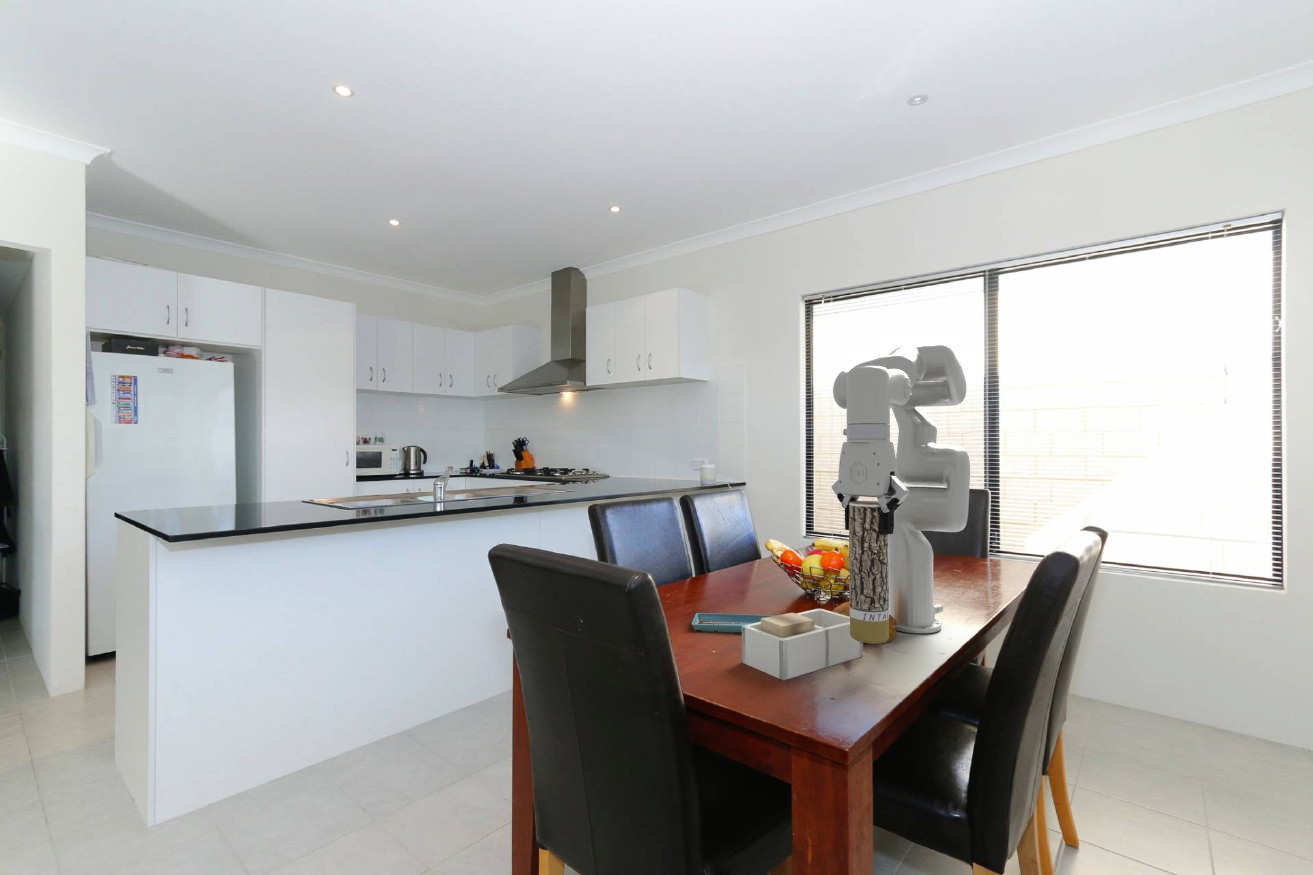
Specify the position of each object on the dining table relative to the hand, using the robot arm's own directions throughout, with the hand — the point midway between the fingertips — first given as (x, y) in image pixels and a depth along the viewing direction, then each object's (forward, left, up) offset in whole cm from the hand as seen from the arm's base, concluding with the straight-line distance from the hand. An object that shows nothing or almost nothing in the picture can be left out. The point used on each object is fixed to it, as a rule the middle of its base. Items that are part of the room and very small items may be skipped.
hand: (868, 530), depth 115 cm
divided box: (+5, -12, -26) cm, 29 cm away
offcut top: (+9, -11, -20) cm, 25 cm away
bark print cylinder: (0, 0, -20) cm, 20 cm away
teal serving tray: (-1, -33, -27) cm, 42 cm away
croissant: (-18, -15, -26) cm, 35 cm away
